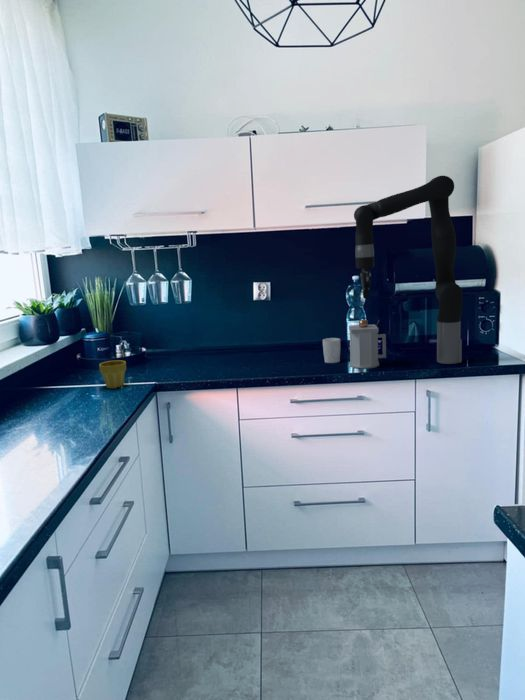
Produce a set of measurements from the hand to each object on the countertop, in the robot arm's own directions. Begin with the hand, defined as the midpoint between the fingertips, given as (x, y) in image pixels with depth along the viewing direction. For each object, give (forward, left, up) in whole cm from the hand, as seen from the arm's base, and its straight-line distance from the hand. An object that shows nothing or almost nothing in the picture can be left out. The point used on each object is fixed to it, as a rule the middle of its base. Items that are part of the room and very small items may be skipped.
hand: (366, 298), depth 226 cm
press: (0, 0, -28) cm, 29 cm away
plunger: (+2, 0, -25) cm, 25 cm away
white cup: (+15, -10, -29) cm, 34 cm away
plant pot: (+104, +19, -29) cm, 109 cm away
